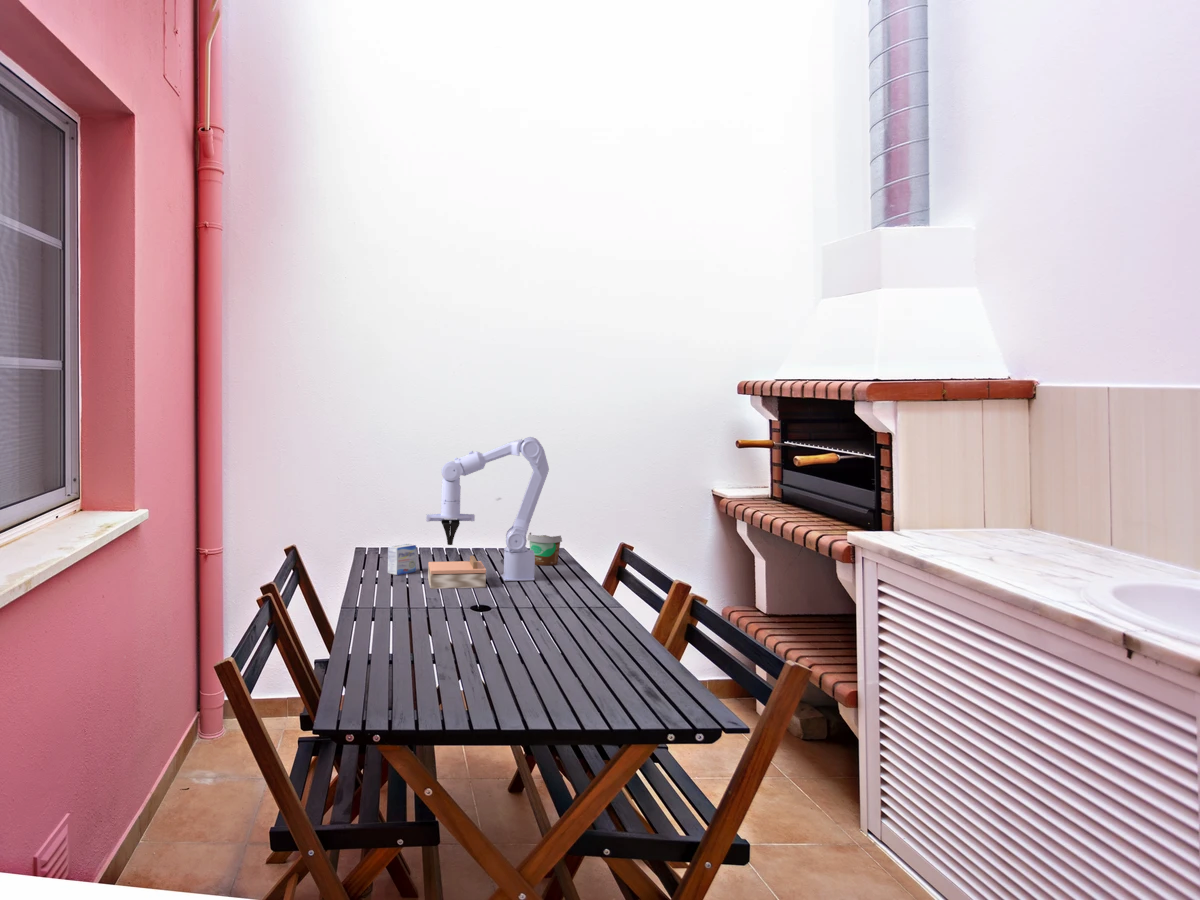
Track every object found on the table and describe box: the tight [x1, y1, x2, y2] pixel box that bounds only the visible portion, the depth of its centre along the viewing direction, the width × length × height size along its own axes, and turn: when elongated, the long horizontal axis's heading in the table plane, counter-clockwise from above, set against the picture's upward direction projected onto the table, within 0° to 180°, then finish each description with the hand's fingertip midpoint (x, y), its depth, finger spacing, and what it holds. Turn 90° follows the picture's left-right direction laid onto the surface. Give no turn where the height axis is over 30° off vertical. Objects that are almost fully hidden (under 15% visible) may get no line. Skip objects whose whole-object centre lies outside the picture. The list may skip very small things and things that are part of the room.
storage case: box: [427, 566, 487, 590], centre depth 263 cm, size 16×13×4 cm
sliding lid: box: [427, 555, 487, 574], centre depth 263 cm, size 16×13×3 cm
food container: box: [527, 532, 563, 567], centre depth 295 cm, size 12×6×10 cm, turn 68°
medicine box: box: [387, 543, 417, 576], centre depth 275 cm, size 8×4×9 cm, turn 143°
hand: (449, 544), depth 270 cm, fingers closed
